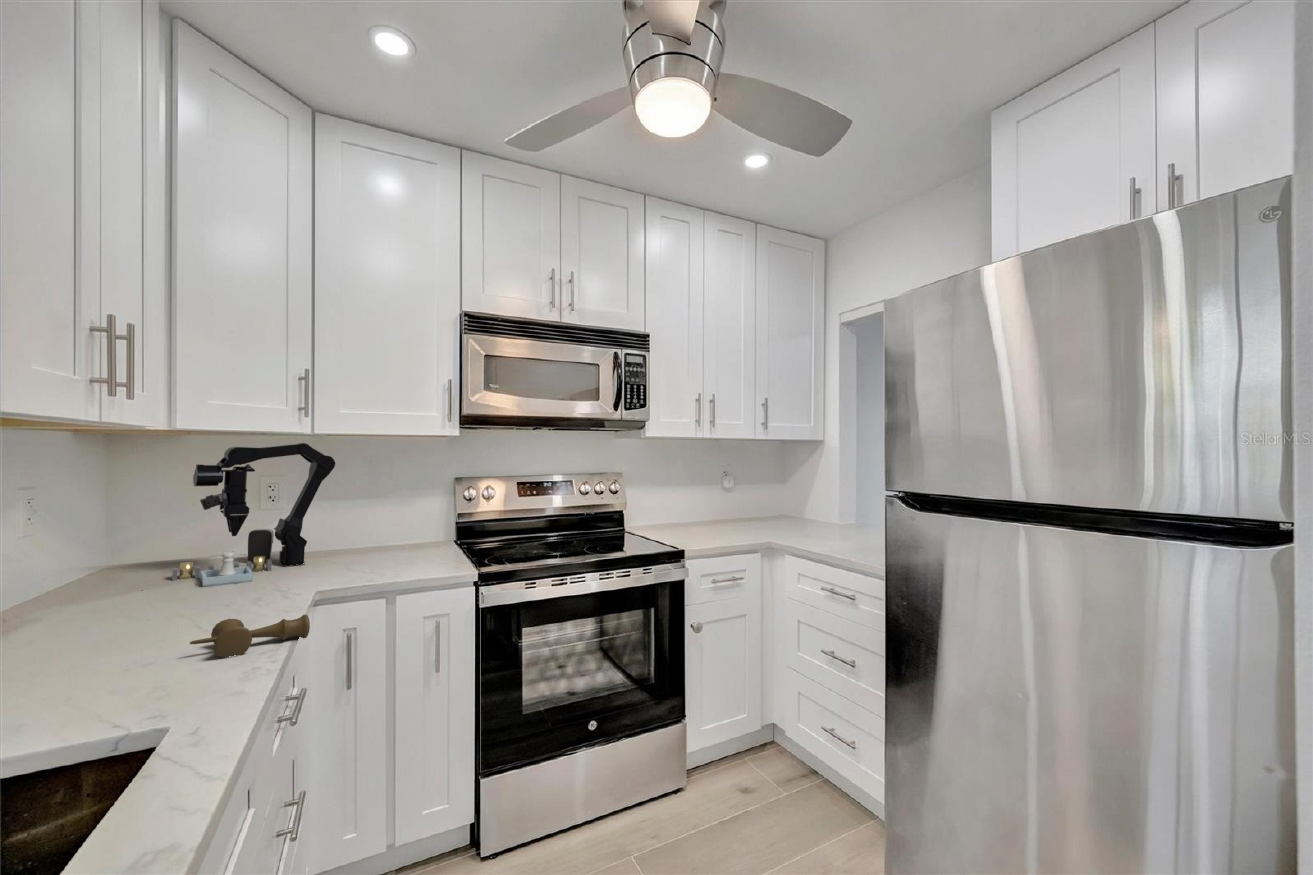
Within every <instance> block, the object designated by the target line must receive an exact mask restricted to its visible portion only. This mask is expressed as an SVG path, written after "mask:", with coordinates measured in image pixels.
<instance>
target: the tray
mask: <svg viewBox="0 0 1313 875" xmlns="http://www.w3.org/2000/svg"><path fill="white" fill-rule="evenodd" d="M233 568H234V567H233ZM221 569H222V568H218V569H217V568H215V569H214V570H209V569H206V570H200V583H201V586H202V588H208V586H209V587H216V586H225V585H233V584H234V585H235V584H243V583H244V584H245V583H252V582H254V571H253V570H252V571H251V569H250V568H249V566H247V567H246V566H239V567H237V568H234V571H235V572H236V574H235V575H226V576H219V575H218V574H219V573H220V572H221Z"/></svg>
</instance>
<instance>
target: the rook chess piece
mask: <svg viewBox="0 0 1313 875" xmlns="http://www.w3.org/2000/svg"><path fill="white" fill-rule="evenodd" d="M235 556H236V554H235V552H234V551H232V550H231V551H223V552H222V554H221V557H222V566H221V568H220V569H221V572H220V573H219V574H218V575H219V576H226V575H235V574H236V572H235V571H234V560H235V559H234V557H235Z"/></svg>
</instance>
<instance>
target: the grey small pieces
mask: <svg viewBox="0 0 1313 875" xmlns="http://www.w3.org/2000/svg"><path fill="white" fill-rule="evenodd" d="M272 565H273V562H272V559H271V560H270V559H267V560H266V562H265V570H266V569H267V570H266V571H267V572H269V571H270V570H271V571H272ZM247 566H249V568H250V569H251V571H252V572H253V563H252V562H251V561H246V565H245V567H247ZM237 567H240V563H239V562H238V561H236V562H234V561H233V568H237ZM208 570H215V566H214V564H208ZM171 571H172V572H171V573H172V575H171V580H172V581H177V579H178V568H177V567H173V568H172V570H171ZM200 576H201V566H200V565H195V566H194V579H199V578H200Z"/></svg>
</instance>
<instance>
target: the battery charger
mask: <svg viewBox="0 0 1313 875" xmlns="http://www.w3.org/2000/svg"><path fill="white" fill-rule="evenodd" d="M273 544H274V531H273V530H272V529H269V528H266V529H265V528H259V529H258V528H257V529H253V530H250V531H249V533H248V536H247V559H246V560H247V561H251V562H252V564H253V563H254V557H256V556H265V563H266V560H267V559H270V560H271V561H272V551H273V550H272V549H273ZM247 561H246V562H247Z"/></svg>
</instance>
